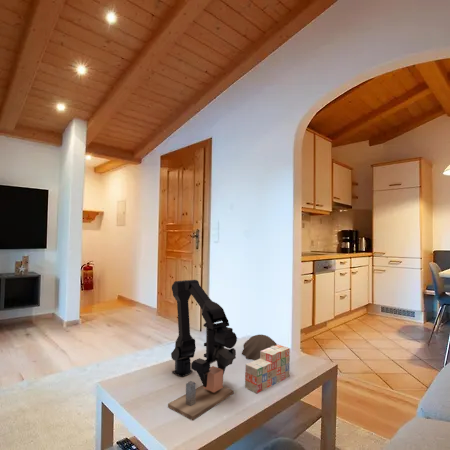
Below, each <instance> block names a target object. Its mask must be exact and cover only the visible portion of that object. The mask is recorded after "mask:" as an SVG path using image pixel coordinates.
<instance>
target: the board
mask: <svg viewBox="0 0 450 450" xmlns="http://www.w3.org/2000/svg"><path fill="white" fill-rule="evenodd" d="M234 394H235V390H234V389H231V388H229V387H226V386H224V385H223V388H221V389H219V390H218V391H216V392H214V393H213V392H211V391H209V390H207V389H204V386H203V384H202V385H200V386H198V387H196V403H195V404H194V405H192V406H189V405H187V404H186V393H185V394H184V395H181V396H180V397H178V398H176V399H174V400H173V401H171V402H169V403H167V408H169V409H171V410H172V411H174V412H177V413H178V414H180V415H182V416H183V417H186V418H187V419H189V420H190V421H191V420H192V421H194V420H196V419H197V418H199V417H200V416H201V415H203V414H205V413H206V412H209V410H212V408H214V407H215V406H217V405H218V404H220V403H222V402H224V401H225V400H227V399H228V398H230V397H231V396H232V395H234Z"/></svg>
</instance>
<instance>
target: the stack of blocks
mask: <svg viewBox="0 0 450 450" xmlns="http://www.w3.org/2000/svg"><path fill="white" fill-rule="evenodd" d="M290 350H291V349H290V347H287V346H284V345H281V344H277V345H275V346H272V347H270V348H267V349H264V350H262V351H260V359H258V360H255V361H254V360H252V361H251V362H247V363H246V364H245V372H244V373H245V374H244V376H245V377H244V380H245V381H244V382H245V383H244V387H245V389H247V390H249V391H251V392H253V393H255V394H258V393H260V392H261V391H264V390H266V389H268V388H270V387H273V386H274V385H276V384H277V383H280V382H282V381H284V380H286V379H288V378H290V374H291V373H290V362H291V358H290V357H291V355H290V353H291V352H290Z"/></svg>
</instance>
